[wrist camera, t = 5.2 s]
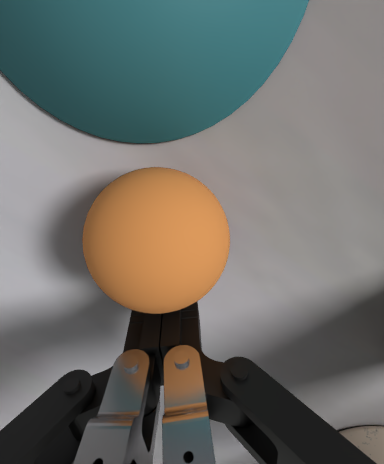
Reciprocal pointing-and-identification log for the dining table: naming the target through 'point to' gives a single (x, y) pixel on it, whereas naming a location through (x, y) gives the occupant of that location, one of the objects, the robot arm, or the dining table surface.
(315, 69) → the dining table surface
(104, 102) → the teal mark
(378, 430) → the teacup with lid
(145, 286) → the ball
